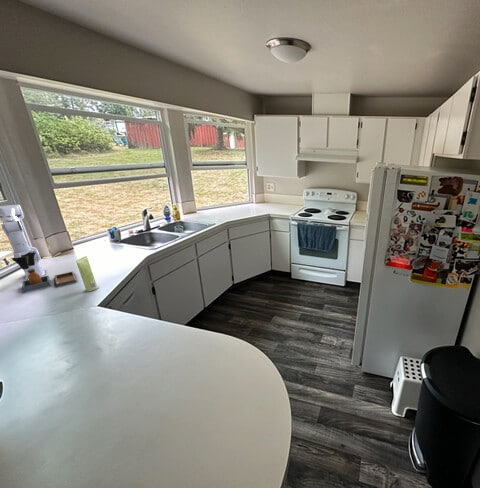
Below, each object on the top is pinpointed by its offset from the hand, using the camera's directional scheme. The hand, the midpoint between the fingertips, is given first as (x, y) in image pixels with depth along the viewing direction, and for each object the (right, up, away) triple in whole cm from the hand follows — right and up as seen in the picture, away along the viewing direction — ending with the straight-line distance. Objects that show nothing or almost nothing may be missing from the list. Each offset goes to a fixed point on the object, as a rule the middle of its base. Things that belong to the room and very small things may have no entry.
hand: (29, 267), depth 138 cm
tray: (+7, -9, +13) cm, 18 cm away
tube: (+31, -13, +5) cm, 34 cm away
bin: (-2, -12, +6) cm, 13 cm away
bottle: (-2, -11, +6) cm, 13 cm away
